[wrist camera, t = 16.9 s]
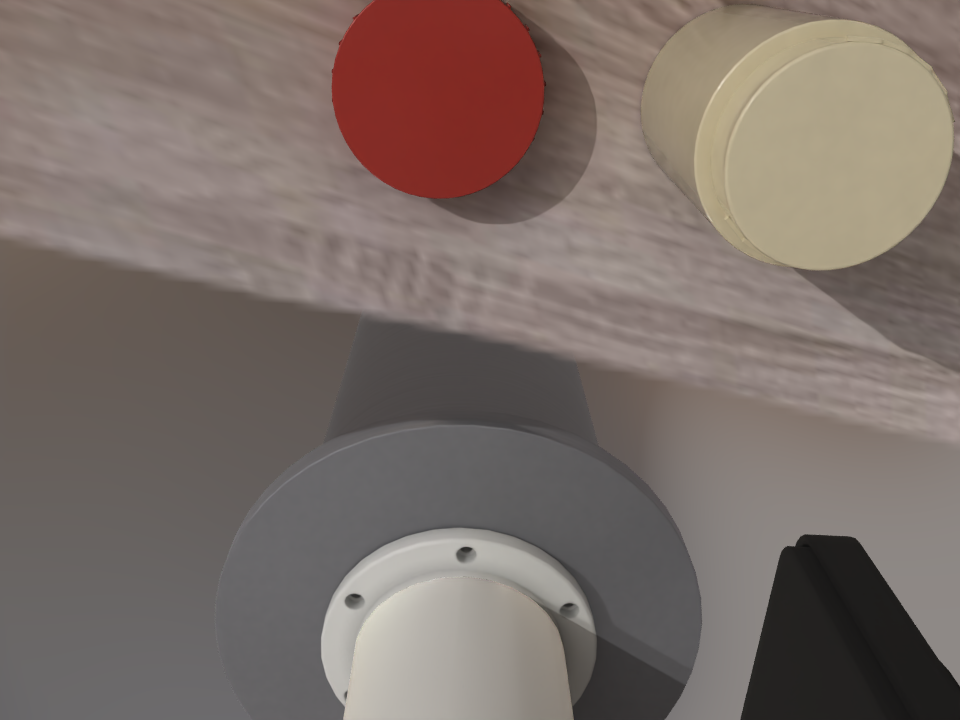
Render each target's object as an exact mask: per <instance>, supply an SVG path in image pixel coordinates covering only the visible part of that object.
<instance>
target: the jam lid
mask: <svg viewBox="0 0 960 720" xmlns="http://www.w3.org/2000/svg"><path fill="white" fill-rule="evenodd" d="M510 8H511V6H510V4H508V3H506V4H504V3H503V2H502V1H501V0H373V1H372V2H371V3H370V4H369V5H368V6H367V7H365V8H364V9H363V10H362V11H361V13H360V14H358V15H356V16H354V17H353V19H354V21H353V22H352V24H351V25H350V27H349V28H348V30H347V31H346V33H345V35H344V37H343V40H341V41H340V42H339V45H340V46H339V49H338V52H337V55H336V58H335V63H334V68H333V69H332V73H333V75H332V102H333V106H334V111H335V116H336V119H337V122H338V125H339V128H340V130H341V133H342V135H343V137H344V139H345V141H346V143H347V144H348V146H349V148H350V149H351V151H352V152H353V154H354V155H355V156H356V157H357V159H358V160H359V161H360V162H361V163H362V165H363V166H364V167H365V168H367V169H368V170H369V171H370V172H371V173H372V174H373V175H374V176H376V177H377V178H379V179H380V180H381V181H383V182H384V183H386V184H388V185H390V186H391V187H393V188H395V189H398V190H400V191H403V192H405V193H408V194H411V195H415V196H419V197H426V198H434V199H437V198H454V197H461V196H465V195H468V194H472V193H475V192H477V191H480V190H482V189H484V188H486V187H488V186H490V185H492V184H493V183H495V182H497V181H498V180H499V179H501V178H502V177H503V176H505V175H506V174H507V173H508V172H509V171H510V170H511V169H512V168H513V167H514V166H515V165H516V164H517V163H518V162H519V161H520V159H521V158H522V157H523V155H524V154H525V153H526V151H527V150H528V148H529V146H530V144H531V143H532V141H533V140H534V136H535V134H536V132H537V129H538V126H539V123H540V119H541V116H542V115H543V112H544V111H543V104H544V86H546V82H545V81H544V78H543V70H542V66H541V62H540V57H541V54H540V53H539V51H538V50H536V47H535V44H534V42H533V40H532V38H531V37H530V35H529V33H528V31H529V28H528V27H527V25H523V24H522V22H521V21H520V20H519V18H518V17H517V16H516V15H515V14H514V13H513V12H512V11H511V9H510Z"/></svg>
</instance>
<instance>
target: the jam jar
mask: <svg viewBox="0 0 960 720" xmlns="http://www.w3.org/2000/svg"><path fill="white" fill-rule="evenodd" d="M932 69H933V68H932V67H931V66H930V65H929V64H927V63H926V62H925V61H923V60H922V59H921V58H920V57H918V55H917V54H916V53H915V52H914V51H913V50H912V49H911V48H910V47H909V46H908V45H907V44H906V43H905V42H903V41H902V40H900V39H899V38H898V37H896V36H895V35H893V34H892V33H890V32H888V31H886V30H884V29H881V28H879V27H877V26H874V25H871V24H867V23H864V22H860V21H854V20H848V19H842V18H836V17H830V16H824V15H818V14H812V13H806V12H800V11H794V10H788V9H782V8H776V7H770V6H763V5H756V4H736V5H729V6H724V7H721V8H717V9H714V10H711V11H709V12H707V13H704V14H702V15H700V16H699V17H697V18H695V19H694V20H692V21H690V22H689V23H687V24H686V25H685V26H684V27H682V28H681V29H680V30H679V31H678V32H677V33H675V34H674V35H673V36H672V37H671V38H670V39H669V41H668V42H667V43H666V44H665V46H664V47H663V48H662V49H661V51H660V52H659V54H658V56H657V57H656V59H655V60H654V62H653V64H652V66H651V69H650V71H649V73H648V76H647V79H646V82H645V85H644V89H643V94H642V100H641V124H642V130H643V135H644V138H645V141H646V144H647V147H648V149H649V151H650V153H651V155H652V157H653V159H654V160H655V162H656V163H657V165H658V166H659V167H660V169H661V170H662V171H663V172H664V173H665V174H666V175H667V176H668V177H669V178H670V180H671V181H672V182H673V183H674V184H675V185H676V186H677V187H678V188H679V189H680V190H681V192H682V193H683V194H684V195H685V196H686V197H687V198H688V199H689V200H690V201H691V203H692V204H693V205H694V206H695V207H696V208H697V209H698V210H699V211H700V212H701V213H702V215H703V216H704V217H705V218H706V219H707V220H708V221H709V222H710V223H711V224H712V226H713V227H714V228H715V229H716V230H717V231H718V232H719V233H720V234H721V235H722V236H723V237H724V239H725V240H726V241H728V242H729V243H730V244H731V245H733V246H734V247H735V248H736V249H738V250H739V251H741V252H743V253H745V254H746V255H748V256H750V257H752V258H755V259H757V260H759V261H762V262H765V263H769V264H773V265H777V266H785V267H795V268H798V269H805V270H813V271H828V270H835V269H843V268H847V267H851V266H855V265H858V264H861V263H864V262H866V261H869V260H871V259H873V258H875V257H877V256H879V255H881V254H883V253H885V252H887V251H888V250H890V249H891V248H893V247H894V246H896V245H897V244H898V243H900V242H901V241H902V240H903V239H905V238H906V237H907V236H908V235H909V234H910V233H911V232H912V231H913V230H914V229H915V228H916V227H917V226H918V225H919V224H920V223H921V222H922V221H923V219H924V218H925V217H926V216H927V214H928V213H929V212H930V210H931V209H932V207H933V206H934V204H935V202H936V201H937V199H938V197H939V195H940V193H941V191H942V189H943V187H944V185H945V182H946V179H947V176H948V173H949V171H950V166H951V162H952V157H953V148H954V126H953V122H955V120H954V117H953V114H952V110H951V107H950V104H949V100H948V97H947V93H948V92H947V91H946V89H945V88H944V86H943V85H942V83H941V82H940V80H939V79H938V77H937V76H936V74H935V73H934V71H933V70H932Z"/></svg>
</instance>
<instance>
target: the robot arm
mask: <svg viewBox="0 0 960 720" xmlns="http://www.w3.org/2000/svg"><path fill="white" fill-rule="evenodd" d="M596 648H597V637H596V631H595V625H594V619H593V615H592V612H591V609H590V606H589V603H588V600H587V598H586V595H585V594H584V592H583V591H582V589H581V587H580V586H579V584H578V583H577V581H576V580H575V578H574V577H573V576H572V575H571V574H570V573H569V572H568V571H567V570H566V569H565V568H564V567H563V566H562V565H561V564H560V563H559V562H558V561H557V560H556V559H554V558H553V557H551V556H550V555H549V554H547V553H546V552H544V551H543V550H541V549H540V548H538V547H536V546H534V545H532V544H530V543H527V542H525V541H523V540H521V539H518V538H516V537H514V536H510V535H506V534H502V533H498V532H494V531H490V530H484V529H472V528H461V527H460V528H447V529H433V530H429V531H425V532H421V533H416V534H412V535H408V536H405V537H403V538H400V539H398V540H396V541H393V542H391V543H389V544H386V545H384V546H382V547H381V548H379V549H378V550H376V551H374V552H373V553H371V554H370V555H368V556H367V557H365V558H364V559H362V560H361V561H360V562H359V563H358V564H357V565H356V566H355V567H354V568H353V569H352V570H351V571H350V572H349V573H348V574H347V575H346V576H345V577H344V579H343V580H342V582H341V583H340V585H339V586H338V588H337V589H336V591H335V592H334V594H333V596H332V599H331V601H330V604H329V607H328V609H327V612H326V615H325V620H324V626H323V631H322V635H321V658H322V662H323V666H324V670H325V674H326V678H327V680H328V682H329V684H330V685H331V687H332V689H333V691H334V693H335V695H336V697H337V698H338V699H339V700H340V702H341V703H342V704H343V705H344V706H345V712H344V718H343V720H574V718H573V711H572V707H573V706H574V704H575V703H576V702H577V701H578V700H579V699H580V697H581V696H582V694H583V692H584V690H585V688H586V686H587V685H588V683H589V681H590V679H591V676H592V672H593V668H594V665H595V661H596ZM741 720H960V686H959V685H958V683H957V682H956V680H955V679H954V678H953V676H952V675H951V673H950V672H949V670H948V669H947V668H946V667H945V666H944V665H943V664H942V663H941V662H940V661H939V659H938V658H937V656H936V655H935V654H934V652H933V651H932V649H931V648H930V646H929V645H928V643H927V642H926V640H925V639H924V637H923V636H922V634H921V633H920V631H919V630H918V628H917V627H916V625H915V624H914V622H913V621H912V619H911V618H910V617H909V615H908V613H907V612H906V611H905V609H904V608H903V606H902V605H901V603H900V602H899V600H898V599H897V597H896V596H895V594H894V593H893V591H892V590H891V588H890V587H889V585H888V584H887V582H886V581H885V579H884V578H883V577H882V575H881V574H880V572H879V571H878V569H877V568H876V566H875V565H874V563H873V562H872V560H871V559H870V557H869V556H868V554H867V553H866V551H865V550H864V548H863V547H862V545H861V544H860V543H859V542H858V541H857V540H856V538H852V537H848V536H827V535H803V536H801V537H800V538H799V540H798V541H797V543H796V546H795V547H794V546H793V547H792V546H787V547H785V548H784V549H783V550H782V552H781V555H780V558H779V562H778V566H777V570H776V574H775V578H774V583H773V587H772V591H771V595H770V599H769V604H768V608H767V612H766V616H765V620H764V624H763V628H762V632H761V636H760V641H759V645H758V649H757V653H756V657H755V661H754V665H753V670H752V674H751V678H750V682H749V686H748V691H747V694H746V698H745V703H744V707H743V711H742V715H741Z"/></svg>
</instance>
